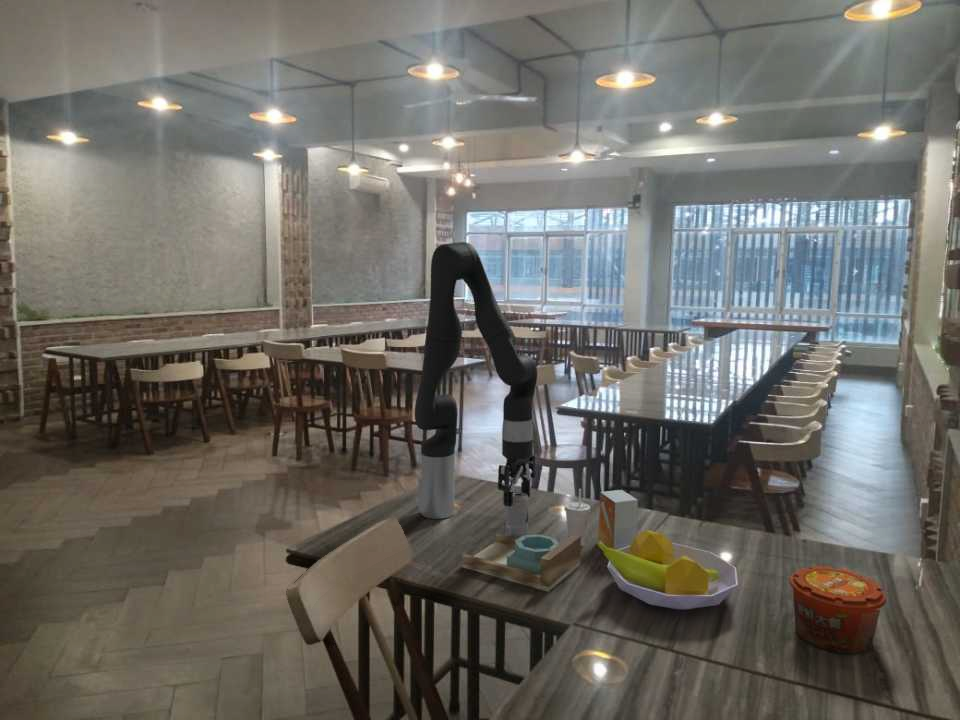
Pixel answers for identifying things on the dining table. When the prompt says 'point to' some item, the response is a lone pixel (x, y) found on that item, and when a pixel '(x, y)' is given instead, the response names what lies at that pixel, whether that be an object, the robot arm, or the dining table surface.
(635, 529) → the small box
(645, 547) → the fruit bowl
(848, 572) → the food container
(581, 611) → the dining table surface
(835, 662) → the dining table surface
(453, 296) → the robot arm
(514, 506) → the energy drink
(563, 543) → the wooden tray
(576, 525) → the smoothie
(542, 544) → the tray
